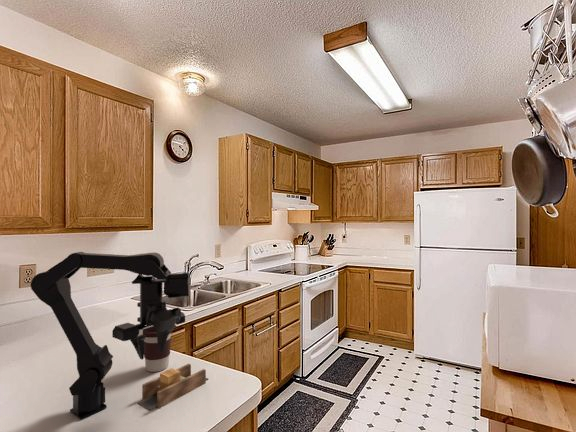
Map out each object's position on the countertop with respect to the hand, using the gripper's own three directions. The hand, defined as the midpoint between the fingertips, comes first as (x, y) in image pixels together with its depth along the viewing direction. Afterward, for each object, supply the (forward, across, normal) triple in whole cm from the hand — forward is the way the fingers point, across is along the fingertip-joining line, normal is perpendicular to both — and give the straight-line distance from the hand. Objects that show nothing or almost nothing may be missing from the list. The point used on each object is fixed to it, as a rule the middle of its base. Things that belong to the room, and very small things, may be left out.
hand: (151, 355), depth 89 cm
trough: (+13, +8, 0) cm, 15 cm away
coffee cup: (+13, +14, +18) cm, 26 cm away
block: (+11, +6, 0) cm, 12 cm away
